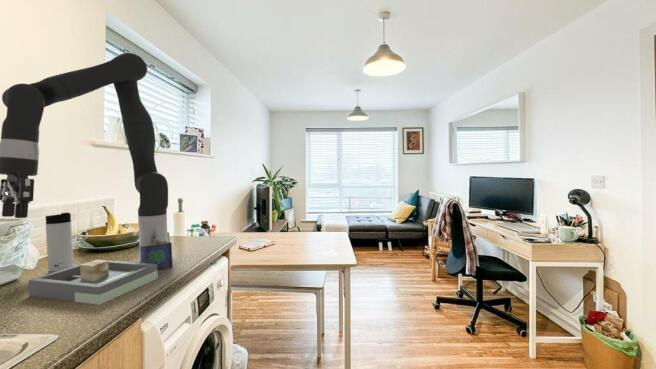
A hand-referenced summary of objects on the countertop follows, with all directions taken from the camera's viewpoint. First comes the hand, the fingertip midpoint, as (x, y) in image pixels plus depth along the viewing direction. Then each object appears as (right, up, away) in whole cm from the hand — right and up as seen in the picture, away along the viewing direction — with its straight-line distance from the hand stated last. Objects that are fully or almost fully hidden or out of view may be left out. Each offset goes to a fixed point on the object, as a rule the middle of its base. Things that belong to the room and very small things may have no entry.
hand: (14, 217), depth 76 cm
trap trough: (+18, -21, +6) cm, 28 cm away
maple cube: (+17, -19, +6) cm, 26 cm away
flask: (+26, -21, +20) cm, 39 cm away
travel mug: (-6, -21, +20) cm, 29 cm away
